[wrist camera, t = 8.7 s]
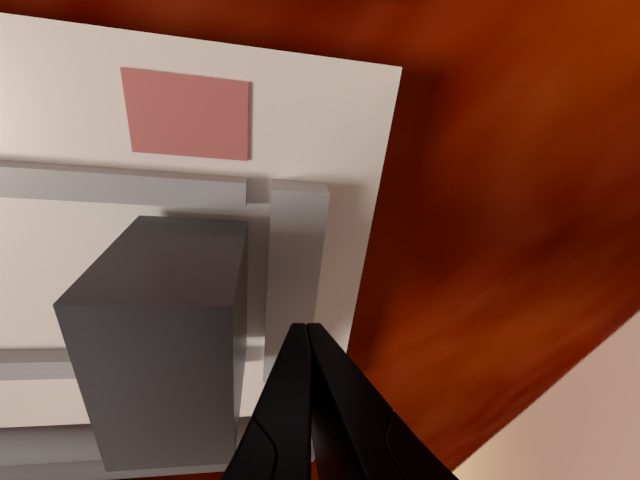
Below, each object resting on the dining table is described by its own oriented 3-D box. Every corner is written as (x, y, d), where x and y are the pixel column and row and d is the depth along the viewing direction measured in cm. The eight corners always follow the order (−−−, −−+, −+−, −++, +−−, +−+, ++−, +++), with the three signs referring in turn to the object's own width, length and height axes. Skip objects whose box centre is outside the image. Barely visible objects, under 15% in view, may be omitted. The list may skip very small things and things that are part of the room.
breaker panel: (-150, 389, 13) (-255, 467, 11) (-486, -47, 7) (-943, -122, 4) (327, 376, 16) (338, 434, 14) (380, 68, 10) (417, 66, 8)
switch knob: (158, 347, 11) (105, 472, 8) (139, 215, 9) (52, 304, 6) (246, 346, 12) (234, 462, 8) (247, 220, 10) (232, 306, 6)
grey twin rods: (-90, 462, 16) (-132, 506, 14) (-812, -479, 5) (-1340, -749, 3) (315, 437, 19) (319, 471, 17) (415, -162, 8) (450, -219, 6)
